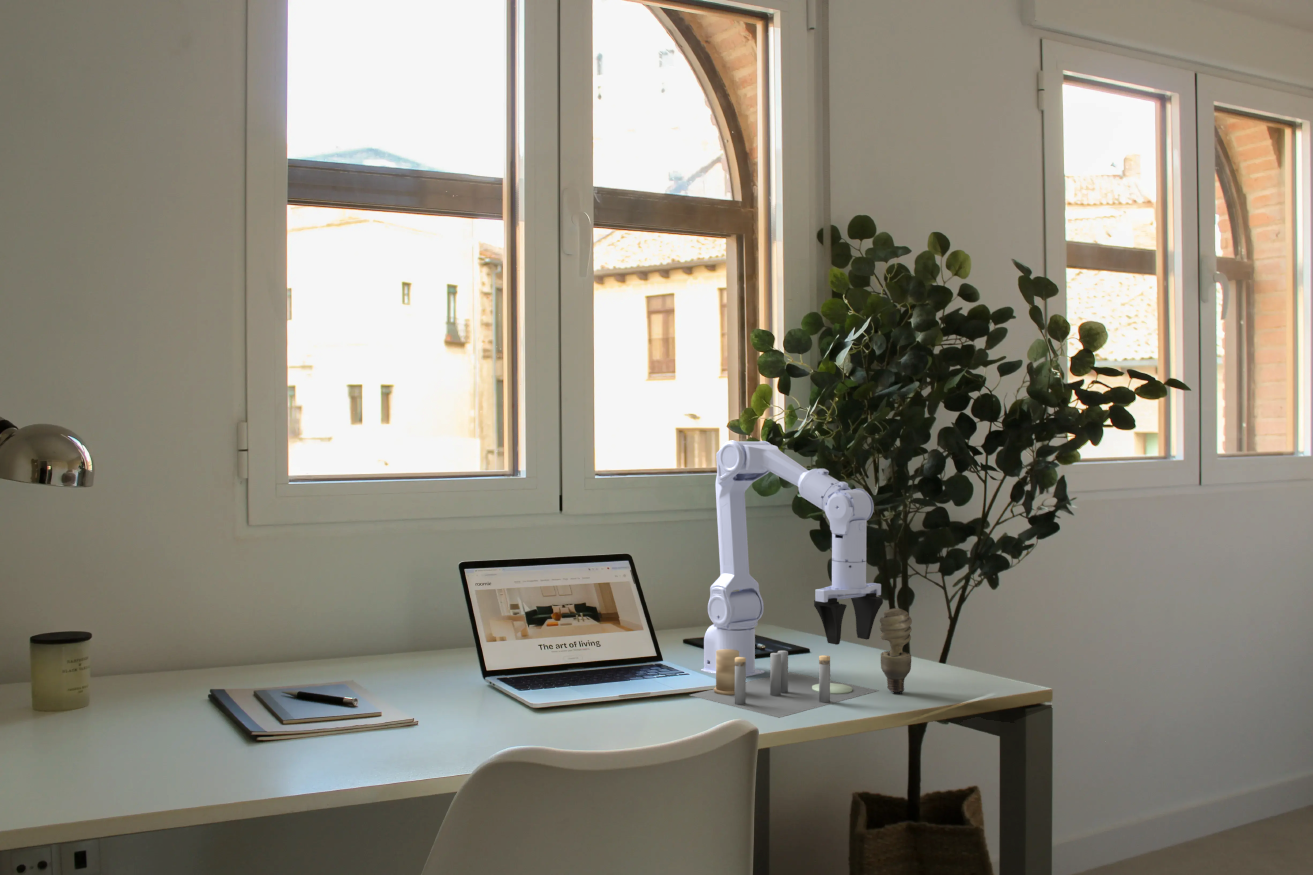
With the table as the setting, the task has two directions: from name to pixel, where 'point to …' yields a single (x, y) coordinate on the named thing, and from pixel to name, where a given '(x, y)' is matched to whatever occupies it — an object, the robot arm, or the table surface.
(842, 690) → the pad
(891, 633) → the light bulb
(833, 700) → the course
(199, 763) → the table surface
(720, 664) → the cylinder
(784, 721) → the table surface
